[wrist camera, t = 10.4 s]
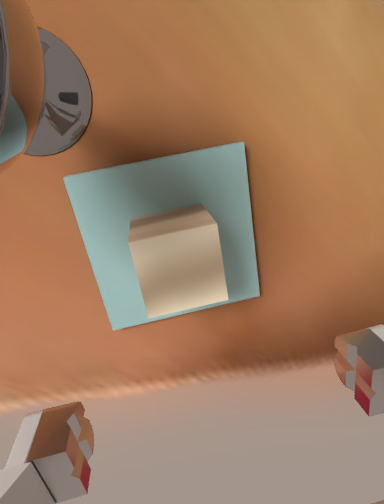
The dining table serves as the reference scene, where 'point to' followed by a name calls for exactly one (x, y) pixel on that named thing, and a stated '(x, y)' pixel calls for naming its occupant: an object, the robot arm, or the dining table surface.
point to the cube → (177, 259)
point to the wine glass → (38, 88)
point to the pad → (157, 200)
